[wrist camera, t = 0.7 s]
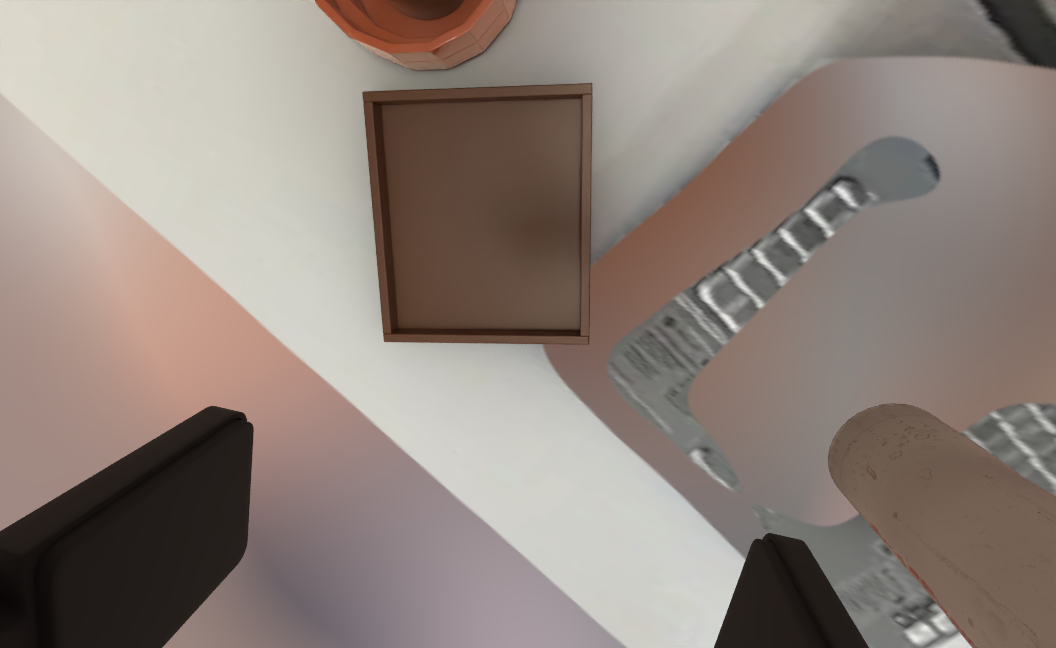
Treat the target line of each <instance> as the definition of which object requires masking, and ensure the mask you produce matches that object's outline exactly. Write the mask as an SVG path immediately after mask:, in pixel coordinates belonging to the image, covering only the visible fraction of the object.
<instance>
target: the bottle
mask: <svg viewBox="0 0 1056 648" xmlns="http://www.w3.org/2000/svg"><path fill="white" fill-rule="evenodd" d="M387 1H388V2H389V3H390V4H391V5H392V6H394V7H395V8H396V9H397V10H398V11H400V12H401V13H403V14H405V15H407V16H409V17H411V18H414V19H419V20H434V19H438V18H442V17H444V16H446V15H448V14H450V13H452V12H453V11H454V10H456V9H457V8H458V7H459V6H460V5H461V4H462V3H463V2H464V0H387Z"/></svg>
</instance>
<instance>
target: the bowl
mask: <svg viewBox="0 0 1056 648" xmlns="http://www.w3.org/2000/svg"><path fill="white" fill-rule="evenodd" d="M315 2H316V4H317V5H318V7H319V8H320V9H321V10H322V11H323V12H324V13H325V14H326V15H327V16H328V17H329V18H330V19H331V20H332V21H333V22H334V23H335V24H336V25H337V26H338V27H339V28H340V29H341V30H342V31H343V32H344V33H345V34H346V35H347V36H348V37H350V38H352V39H353V40H355V41H356V42H358V43H359V44H361V45H363V46H364V47H366V48H367V49H369V50H370V51H372V52H373V53H375V54H377V55H378V56H380V57H382V58H385V59H387V60H390V61H392V62H395V63H397V64H400V65H402V66H404V67H407V68H409V69H412V70H430V69H450V68H452V67H454V66H456V65H458V64H460V63H462V62H464V61H466V60H468V59H470V58H472V57H474V56H476V55H477V54H479V53H481V52H483V50H485V49H486V48H487V47H488V46H489V45H490V43H491V42H492V41H493V40H494V39H495V37H496V36H497V35H498V34H499V33H500V31H501V30H502V29H503V28H504V27H505V25H506V24H507V23H508V22H509V20H510V19H511V16H512V13H513V10H514V7H515V4H516V2H517V0H464V2H463V3H462V4H461V5H460V6H459V7H458V8H457V9H456V10H454V11H453V12H452V13H450V14H448V15H446V16H444V17H442V18H438V19H434V20H419V19H414V18H411V17H409V16H407V15H405V14H403V13H401V12H400V11H398V10H397V9H396V8H395V7H394V6H392V5H391V4H390V3H389V2H388V1H387V0H315Z"/></svg>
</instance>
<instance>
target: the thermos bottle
mask: <svg viewBox="0 0 1056 648" xmlns="http://www.w3.org/2000/svg"><path fill="white" fill-rule="evenodd" d="M828 465H829V470H830V474H831V477H832V479H833V480H834V483H835V484H836V486H837V487H838V488H839V490H840V491H841V492H842V493H843V494H844V496H845V497H846V498H847V499H848V500H849V501H850V503H851V504H852V505H853V506H854V507H855V509H856V510H857V511H858V512H859V513H860V515H861V516H862V517H863V518H864V519H865V520H866V522H867V523H868V524H869V525H870V526H871V528H872V529H873V530H874V531H875V532H876V534H877V535H878V536H879V537H880V538H881V540H882V541H883V542H884V543H885V544H886V545H887V547H888V548H889V549H890V550H891V551H892V553H893V554H894V555H895V556H896V557H897V559H898V560H899V561H900V562H901V563H902V564H903V565H904V567H905V568H906V569H907V570H908V571H909V572H910V573H911V575H912V576H913V577H914V578H915V579H916V580H917V581H918V582H919V584H920V585H921V586H922V587H923V588H924V589H925V590H926V592H927V593H928V594H929V595H930V596H931V597H932V599H933V600H934V601H935V602H936V603H937V604H938V606H939V607H940V608H941V609H942V610H943V612H944V613H945V614H946V615H947V617H948V618H949V619H950V621H951V622H952V623H953V625H954V626H955V627H956V628H957V630H958V631H959V632H960V633H961V635H962V636H963V637H964V638H965V639H966V641H967V642H968V643H969V644H970V645H971V647H972V648H1056V496H1054V495H1053V494H1051V493H1049V492H1048V491H1046V490H1044V489H1042V488H1041V487H1039V486H1037V485H1035V484H1034V483H1032V482H1030V481H1029V480H1027V479H1026V478H1024V477H1022V476H1021V475H1020V474H1018V473H1017V472H1015V471H1014V470H1013V469H1011V468H1010V467H1009V466H1007V465H1006V464H1004V463H1003V462H1002V461H1000V460H999V459H998V458H996V457H995V456H994V455H992V454H991V453H989V452H988V451H986V450H985V449H983V448H982V447H980V446H979V445H977V444H976V443H974V442H973V441H971V440H970V439H968V438H967V437H965V436H964V435H962V434H961V433H959V432H957V431H956V430H954V429H953V428H951V427H950V426H948V425H947V424H945V423H944V422H942V421H941V420H939V419H938V418H936V417H935V416H933V415H931V414H930V413H929V412H926V411H924V410H922V409H920V408H918V407H914V406H911V405H906V404H884V405H879V406H875V407H871V408H868V409H866V410H864V411H862V412H860V413H858V414H856V415H855V416H854V417H852V418H851V419H849V420H848V421H847V422H846V423H845V424H844V425H843V426H842V427H841V428H840V429H839V431H838V432H837V434H836V435H835V437H834V439H833V441H832V444H831V446H830V450H829V456H828Z"/></svg>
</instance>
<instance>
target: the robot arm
mask: <svg viewBox="0 0 1056 648" xmlns="http://www.w3.org/2000/svg"><path fill="white" fill-rule="evenodd" d="M252 450H253V425H252V424H251V423H250V422H247V418H246V416H245V414H244V413H242V412H238V411H234V410H229V409H225V408H221V407H216V406H210V407H207V408H205V409H204V410H202V411H200V412H199V413H197V414H195V415H194V416H192V417H190V418H189V419H187V420H185V421H183V422H182V423H180V424H178V425H177V426H175V427H174V428H172V429H170V430H169V431H167V432H165V433H163V434H162V435H160V436H159V437H157V438H155V439H153V440H152V441H150V442H149V443H147V444H145V445H144V446H142V447H141V448H139V449H137V450H135V451H134V452H132V453H130V454H128V455H127V456H125V457H124V458H122V459H120V460H118V461H117V462H115V463H113V464H112V465H110V466H108V467H107V468H105V469H103V470H102V471H100V472H98V473H97V474H96V475H94V476H92V477H90V478H88V479H87V480H85V481H84V482H82V483H80V484H78V485H77V486H75V487H74V488H72V489H70V490H68V491H67V492H65V493H63V494H62V495H60V496H59V497H57V498H55V499H53V500H52V501H50V502H48V503H47V504H45V505H43V506H42V507H40V508H39V509H37V510H35V511H33V512H32V513H30V514H28V515H27V516H25V517H23V518H22V519H20V520H18V521H17V522H15V523H13V524H12V525H10V526H8V527H7V528H5V529H3V530H2V531H0V648H162V647H163V646H164V645H165V644H166V643H167V642H168V641H169V640H170V638H171V637H172V636H173V635H174V634H175V633H176V632H177V631H178V630H179V628H180V627H181V626H182V625H183V624H184V623H185V622H186V621H187V620H188V619H189V618H190V616H191V615H192V614H193V613H194V612H195V611H196V610H197V609H198V608H199V606H200V605H201V604H202V603H203V602H204V601H205V600H206V599H207V598H208V597H209V595H210V594H211V593H212V592H213V591H214V590H215V589H216V588H217V587H218V585H219V584H220V583H221V582H222V581H223V580H224V579H225V578H226V577H227V576H228V574H229V573H230V572H231V571H232V570H233V569H234V568H235V567H236V566H237V564H238V563H239V562H240V560H241V559H242V557H243V555H244V553H245V550H246V547H247V540H248V523H249V504H250V484H251V468H252ZM714 648H869V647H868V645H867V644H866V642H865V640H864V639H863V637H862V635H861V634H860V632H859V630H858V629H857V627H856V625H855V624H854V622H853V621H852V619H851V617H850V616H849V614H848V612H847V611H846V609H845V607H844V606H843V604H842V602H841V601H840V599H839V597H838V596H837V594H836V592H835V591H834V589H833V588H832V586H831V584H830V583H829V581H828V579H827V578H826V576H825V574H824V573H823V571H822V569H821V568H820V566H819V564H818V563H817V561H816V560H815V558H814V556H813V555H812V553H811V551H810V550H809V548H808V546H807V545H806V544H805V542H804V541H802V540H799V539H794V538H790V537H785V536H781V535H777V534H772V533H768V534H766V535H765V536H764V537H763V539H762V540H761V539H755V540H754V541H753V543H752V545H751V547H750V550H749V553H748V556H747V558H746V561H745V564H744V566H743V569H742V572H741V575H740V577H739V580H738V583H737V586H736V588H735V591H734V594H733V597H732V599H731V602H730V605H729V608H728V610H727V613H726V616H725V619H724V621H723V624H722V627H721V630H720V632H719V635H718V638H717V641H716V643H715V646H714Z"/></svg>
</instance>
